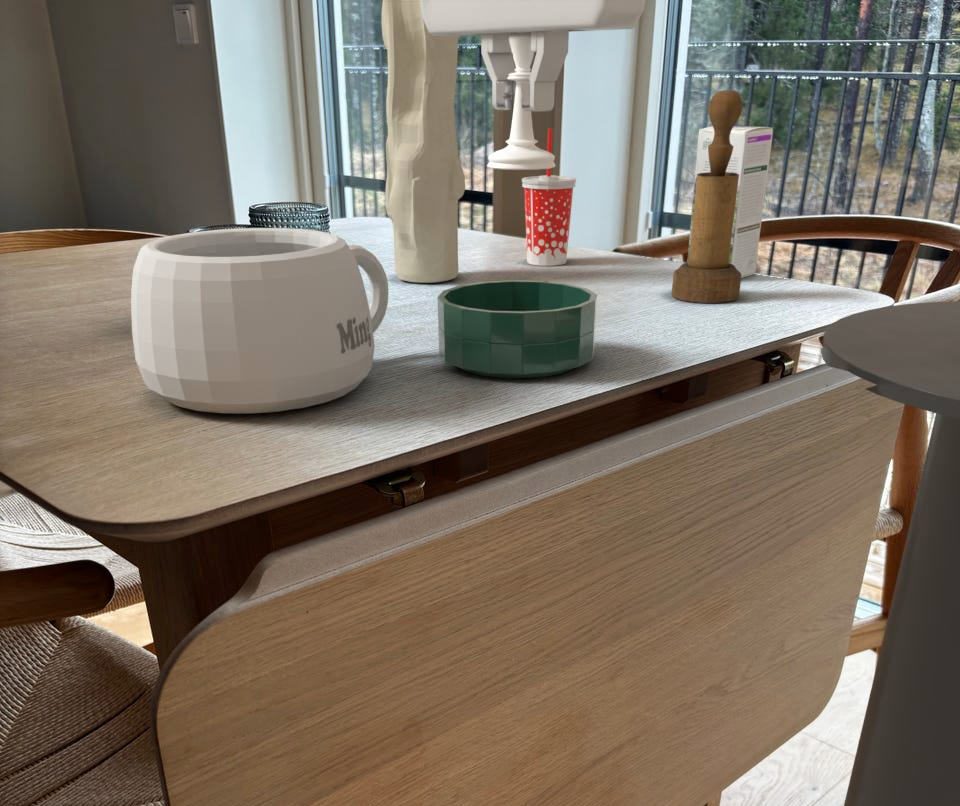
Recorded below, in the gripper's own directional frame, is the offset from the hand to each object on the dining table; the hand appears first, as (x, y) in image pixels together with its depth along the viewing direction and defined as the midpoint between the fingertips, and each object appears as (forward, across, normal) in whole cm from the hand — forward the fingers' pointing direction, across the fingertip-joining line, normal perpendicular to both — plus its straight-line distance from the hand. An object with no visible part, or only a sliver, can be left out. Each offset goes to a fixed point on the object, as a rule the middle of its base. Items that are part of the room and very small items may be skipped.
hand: (522, 110), depth 69 cm
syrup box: (+18, +15, -40) cm, 46 cm away
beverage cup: (+18, +33, -30) cm, 47 cm away
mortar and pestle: (+18, +8, -30) cm, 35 cm away
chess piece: (+4, 0, 0) cm, 4 cm away
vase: (+18, +33, -12) cm, 39 cm away
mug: (+18, +6, +18) cm, 25 cm away
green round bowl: (+17, 0, 0) cm, 17 cm away
